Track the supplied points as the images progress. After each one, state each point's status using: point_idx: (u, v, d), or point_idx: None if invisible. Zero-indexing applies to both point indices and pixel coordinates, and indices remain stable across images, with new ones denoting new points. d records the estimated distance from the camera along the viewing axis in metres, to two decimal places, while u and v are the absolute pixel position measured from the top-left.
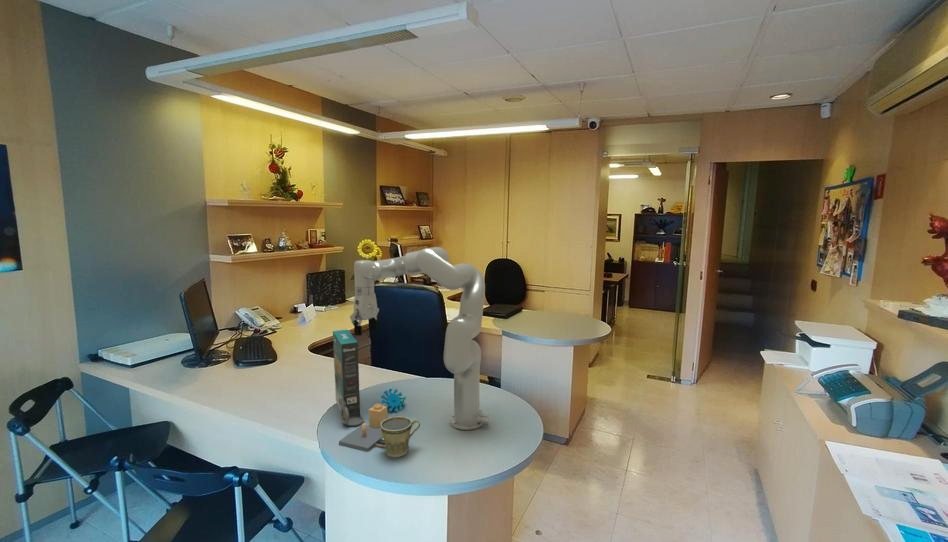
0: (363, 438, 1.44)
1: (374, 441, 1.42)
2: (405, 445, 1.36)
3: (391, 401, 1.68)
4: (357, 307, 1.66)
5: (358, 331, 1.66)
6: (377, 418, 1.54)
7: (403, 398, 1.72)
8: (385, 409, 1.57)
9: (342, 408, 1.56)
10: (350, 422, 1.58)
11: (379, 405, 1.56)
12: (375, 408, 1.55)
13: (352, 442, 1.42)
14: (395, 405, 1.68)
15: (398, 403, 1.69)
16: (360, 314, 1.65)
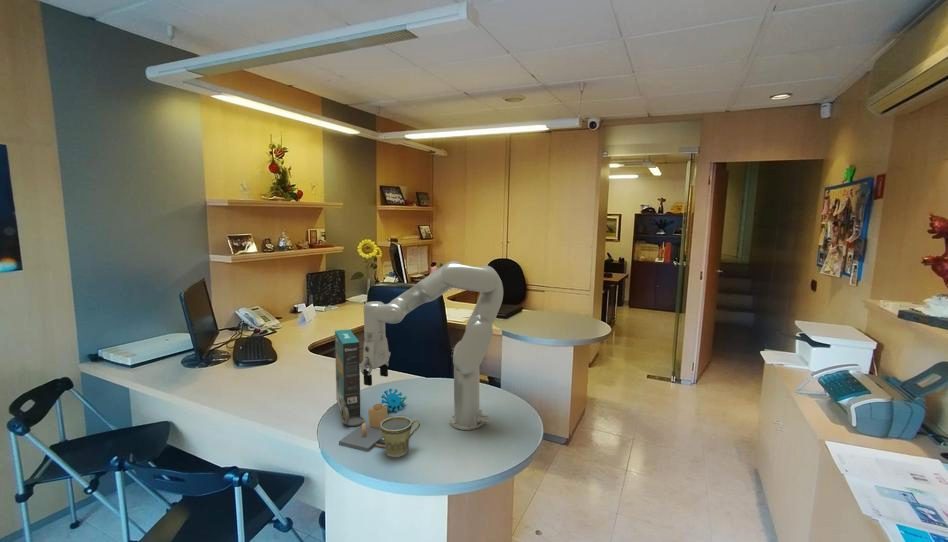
0: (363, 438, 1.44)
1: (374, 441, 1.42)
2: (405, 445, 1.36)
3: (391, 401, 1.69)
4: (367, 354, 1.50)
5: (368, 381, 1.50)
6: (377, 418, 1.54)
7: (403, 398, 1.72)
8: (385, 409, 1.57)
9: (342, 408, 1.56)
10: (350, 422, 1.58)
11: (379, 405, 1.56)
12: (375, 408, 1.55)
13: (352, 442, 1.42)
14: (395, 405, 1.68)
15: (398, 403, 1.70)
16: (370, 362, 1.50)
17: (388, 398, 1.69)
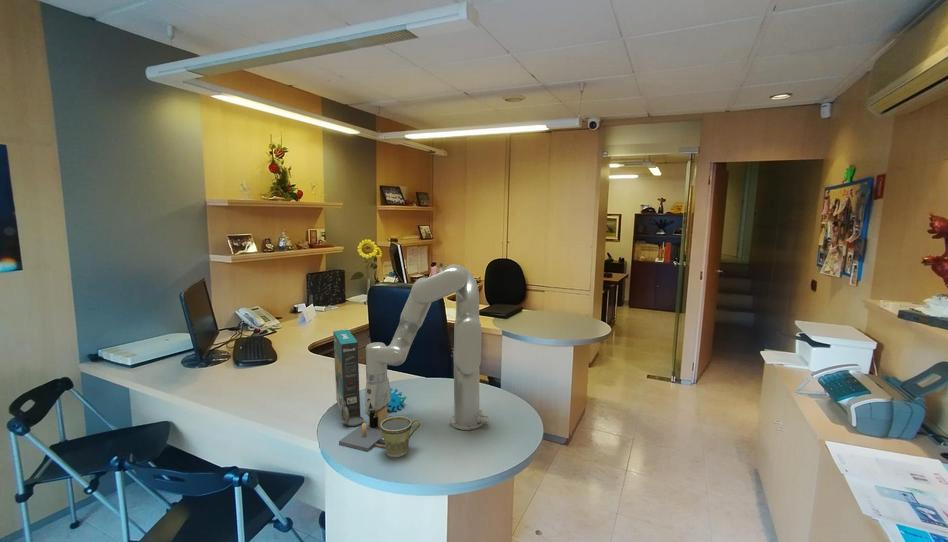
0: (363, 438, 1.44)
1: (374, 441, 1.42)
2: (405, 445, 1.36)
3: (391, 401, 1.69)
4: (369, 397, 1.51)
5: (374, 423, 1.53)
6: None
7: (403, 398, 1.72)
8: (385, 409, 1.57)
9: (342, 408, 1.56)
10: (350, 422, 1.58)
11: None
12: None
13: (352, 442, 1.42)
14: (394, 405, 1.68)
15: (398, 403, 1.70)
16: None
17: None
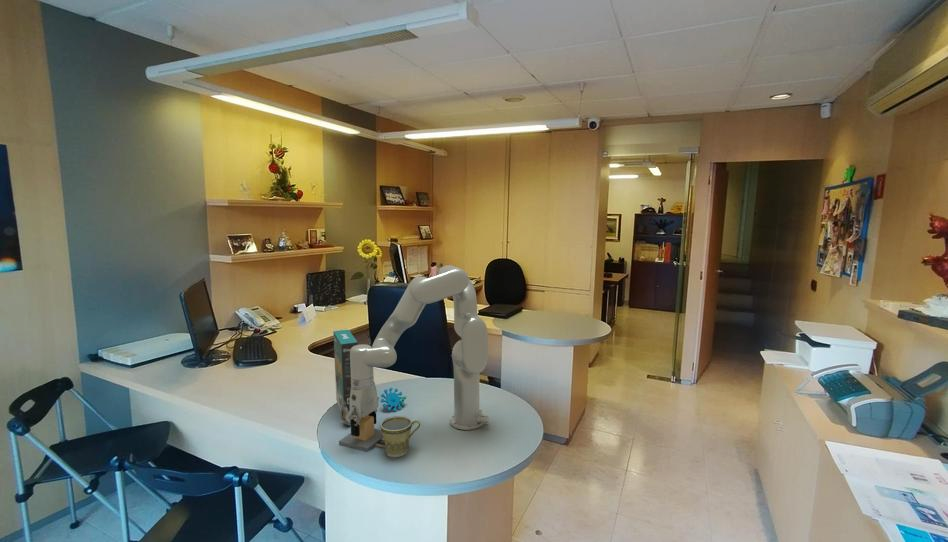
0: None
1: (374, 441, 1.42)
2: (405, 445, 1.36)
3: (390, 400, 1.69)
4: (354, 403, 1.40)
5: (355, 431, 1.40)
6: (363, 429, 1.43)
7: (403, 398, 1.72)
8: (371, 419, 1.46)
9: (342, 408, 1.56)
10: None
11: None
12: (360, 418, 1.44)
13: (352, 442, 1.42)
14: (394, 404, 1.69)
15: (397, 402, 1.70)
16: (357, 412, 1.39)
17: (387, 397, 1.70)
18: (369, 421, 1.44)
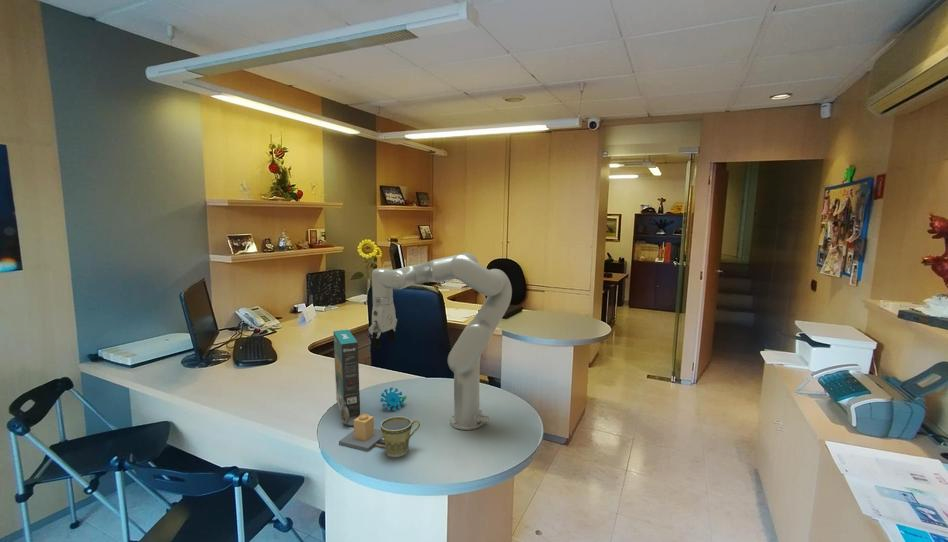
0: None
1: (374, 441, 1.42)
2: (405, 445, 1.36)
3: (390, 400, 1.70)
4: (375, 318, 1.56)
5: (377, 344, 1.56)
6: (363, 429, 1.43)
7: (403, 398, 1.73)
8: (371, 419, 1.46)
9: (342, 408, 1.56)
10: (350, 422, 1.58)
11: (365, 415, 1.45)
12: (360, 418, 1.44)
13: (352, 442, 1.42)
14: (393, 404, 1.69)
15: (397, 402, 1.70)
16: (379, 326, 1.56)
17: (387, 397, 1.70)
18: (369, 421, 1.44)
